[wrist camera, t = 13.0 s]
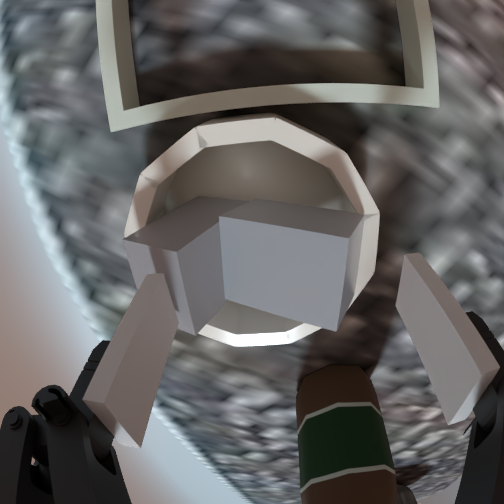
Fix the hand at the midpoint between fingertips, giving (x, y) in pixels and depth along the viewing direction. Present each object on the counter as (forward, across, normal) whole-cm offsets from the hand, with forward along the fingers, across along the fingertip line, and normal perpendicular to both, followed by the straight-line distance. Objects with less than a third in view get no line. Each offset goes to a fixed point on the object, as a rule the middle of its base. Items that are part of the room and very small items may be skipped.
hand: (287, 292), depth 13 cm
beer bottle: (+8, +4, -18) cm, 20 cm away
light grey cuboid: (+4, -2, 0) cm, 5 cm away
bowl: (+8, -2, 0) cm, 8 cm away
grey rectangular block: (+6, -3, 0) cm, 7 cm away
